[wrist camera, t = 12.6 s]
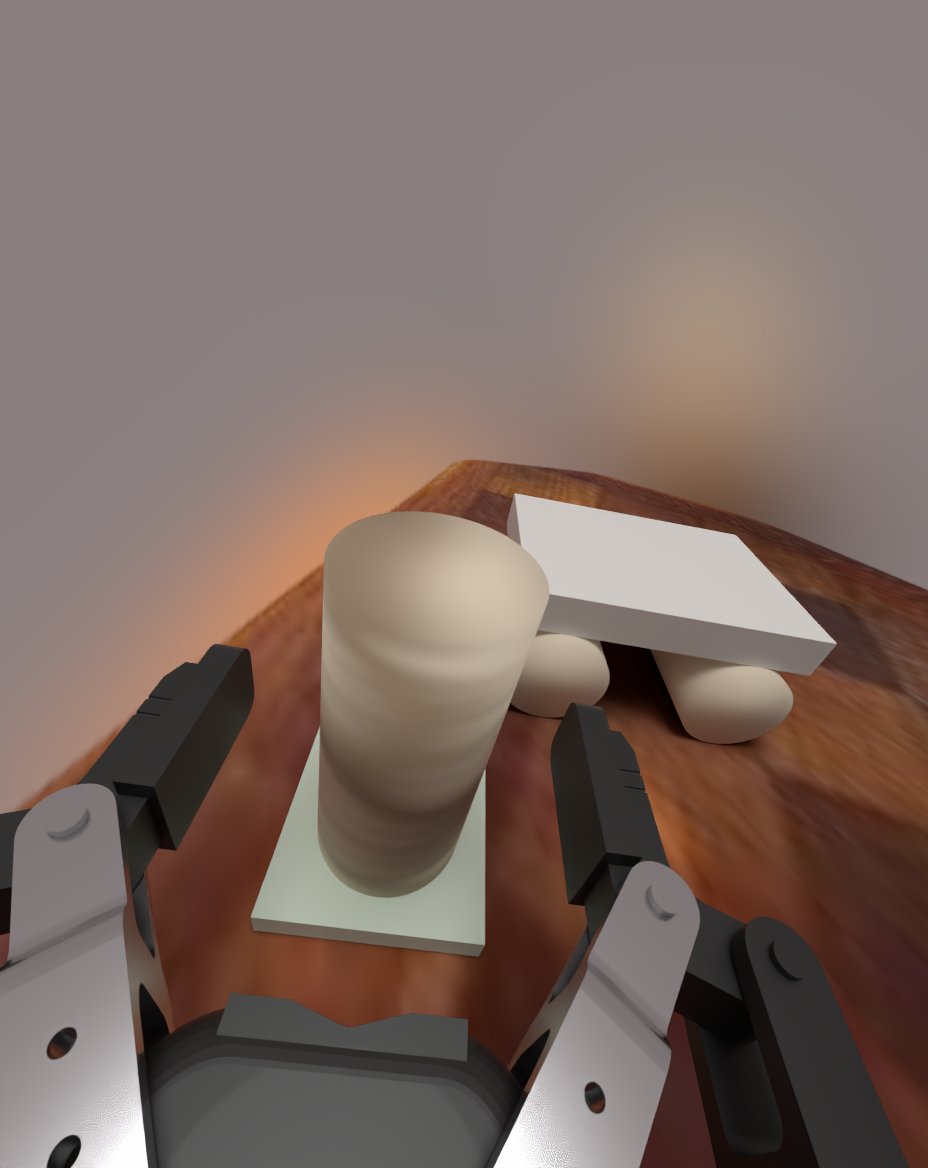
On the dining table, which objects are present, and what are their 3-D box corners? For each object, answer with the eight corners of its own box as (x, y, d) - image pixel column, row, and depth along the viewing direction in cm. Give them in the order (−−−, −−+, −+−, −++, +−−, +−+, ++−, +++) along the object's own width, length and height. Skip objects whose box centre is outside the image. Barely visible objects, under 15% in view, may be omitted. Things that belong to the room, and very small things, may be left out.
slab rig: (682, 617, 33) (732, 531, 29) (757, 750, 24) (844, 651, 20) (489, 583, 32) (514, 490, 28) (491, 709, 23) (527, 597, 19)
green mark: (480, 761, 20) (485, 747, 20) (478, 956, 15) (484, 945, 14) (321, 737, 20) (320, 722, 19) (253, 930, 14) (250, 917, 14)
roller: (462, 766, 19) (538, 532, 13) (455, 907, 15) (564, 662, 8) (338, 747, 18) (355, 496, 12) (296, 887, 14) (288, 614, 8)
